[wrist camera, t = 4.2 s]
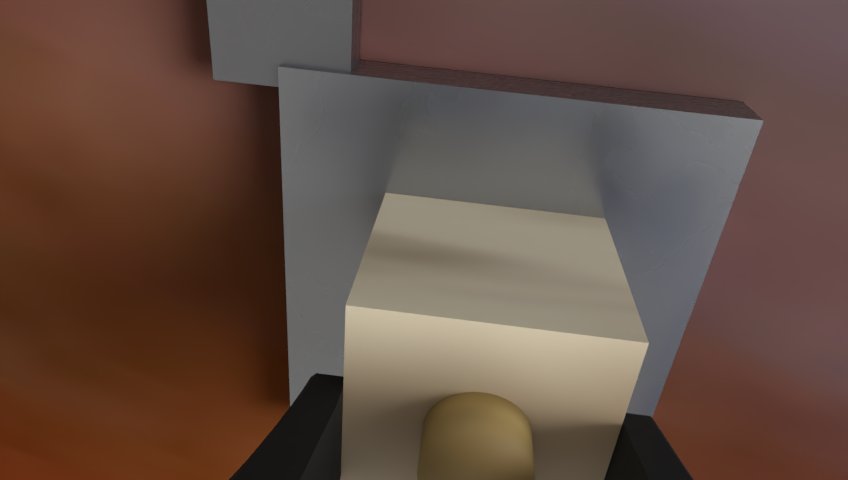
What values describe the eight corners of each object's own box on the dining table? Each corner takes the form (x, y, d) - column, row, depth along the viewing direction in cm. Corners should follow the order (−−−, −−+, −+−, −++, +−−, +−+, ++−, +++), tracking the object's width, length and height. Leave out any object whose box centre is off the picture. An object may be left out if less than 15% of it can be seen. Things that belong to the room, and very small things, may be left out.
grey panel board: (621, 447, 19) (678, 708, 13) (255, 399, 20) (150, 628, 14) (908, -368, 10) (1566, -750, 4) (193, -423, 10) (-231, -843, 4)
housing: (562, 386, 17) (591, 586, 12) (375, 361, 17) (329, 549, 12) (605, 218, 14) (663, 385, 9) (385, 192, 14) (331, 342, 10)
